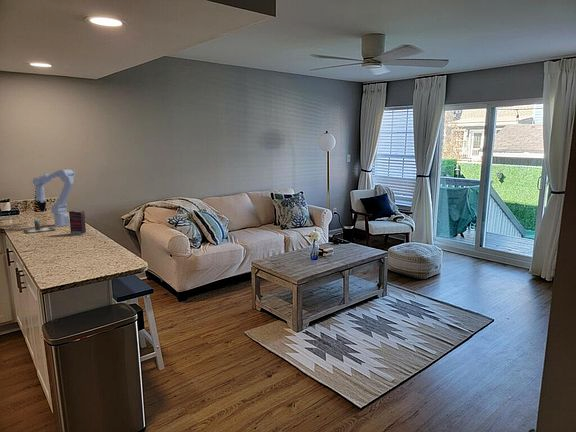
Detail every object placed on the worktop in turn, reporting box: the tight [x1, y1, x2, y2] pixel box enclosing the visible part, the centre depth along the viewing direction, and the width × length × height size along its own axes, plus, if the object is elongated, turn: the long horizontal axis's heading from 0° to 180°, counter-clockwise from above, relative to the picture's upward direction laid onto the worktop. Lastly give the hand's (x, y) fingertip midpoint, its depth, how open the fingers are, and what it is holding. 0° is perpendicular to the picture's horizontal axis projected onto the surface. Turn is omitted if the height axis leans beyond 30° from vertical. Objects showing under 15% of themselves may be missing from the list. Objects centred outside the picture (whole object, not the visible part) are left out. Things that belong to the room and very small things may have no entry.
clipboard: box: [23, 226, 56, 235], centre depth 284 cm, size 18×14×2 cm
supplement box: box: [68, 210, 87, 236], centre depth 274 cm, size 9×5×16 cm, turn 84°
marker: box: [33, 219, 41, 230], centre depth 283 cm, size 3×3×7 cm
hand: (41, 210), depth 304 cm, fingers open, 7 cm apart
